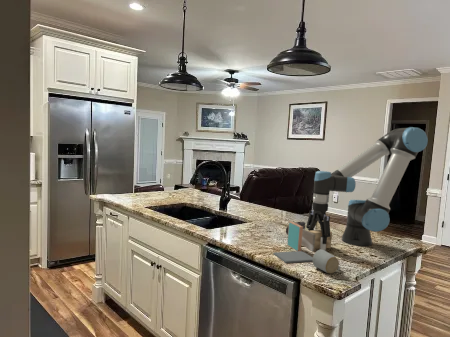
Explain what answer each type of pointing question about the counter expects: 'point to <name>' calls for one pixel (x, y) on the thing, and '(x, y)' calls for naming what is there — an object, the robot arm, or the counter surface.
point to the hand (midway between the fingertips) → (316, 246)
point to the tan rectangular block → (314, 239)
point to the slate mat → (294, 256)
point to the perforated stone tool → (298, 224)
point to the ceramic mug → (325, 261)
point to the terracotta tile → (295, 236)
